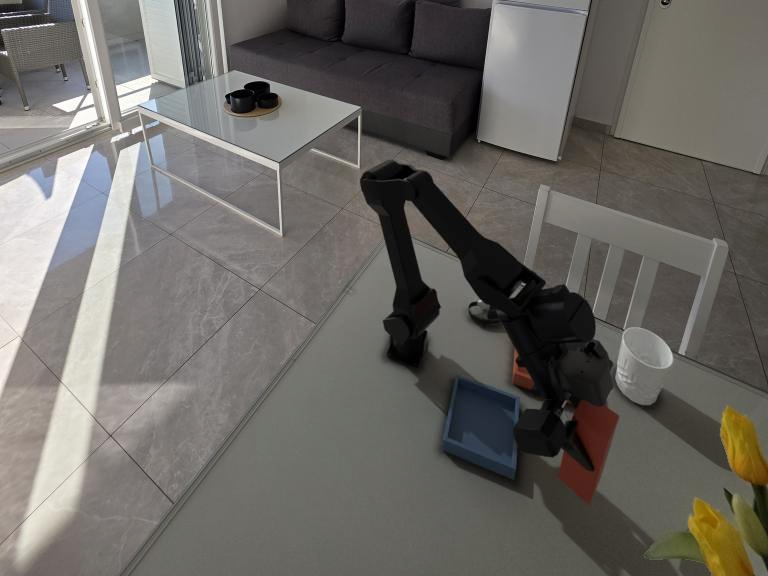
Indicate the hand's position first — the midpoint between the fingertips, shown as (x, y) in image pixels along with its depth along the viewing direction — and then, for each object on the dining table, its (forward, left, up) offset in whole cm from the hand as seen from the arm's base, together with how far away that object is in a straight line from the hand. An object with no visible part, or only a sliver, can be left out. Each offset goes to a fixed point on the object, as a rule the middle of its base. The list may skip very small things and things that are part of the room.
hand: (597, 455), depth 59 cm
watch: (-17, +28, -12) cm, 35 cm away
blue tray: (-15, +6, -12) cm, 20 cm away
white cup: (+11, +23, -12) cm, 28 cm away
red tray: (-4, +22, -12) cm, 25 cm away
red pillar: (-1, +1, -7) cm, 7 cm away
